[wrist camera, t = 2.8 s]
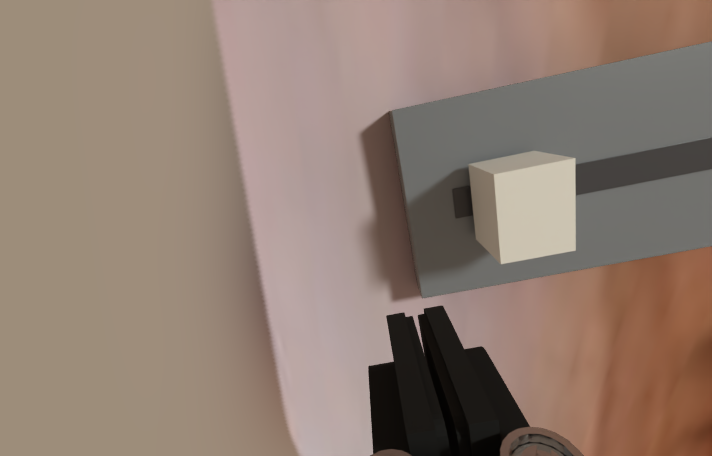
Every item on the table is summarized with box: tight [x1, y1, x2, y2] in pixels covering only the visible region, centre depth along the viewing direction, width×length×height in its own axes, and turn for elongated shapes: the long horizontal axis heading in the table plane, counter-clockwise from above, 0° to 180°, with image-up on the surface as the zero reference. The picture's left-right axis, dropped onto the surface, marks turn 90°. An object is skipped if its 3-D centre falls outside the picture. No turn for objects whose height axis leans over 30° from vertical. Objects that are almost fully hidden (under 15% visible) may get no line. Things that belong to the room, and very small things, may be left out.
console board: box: [389, 42, 712, 298], centre depth 22 cm, size 13×34×2 cm, turn 102°
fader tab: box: [468, 151, 576, 264], centre depth 19 cm, size 5×4×4 cm
